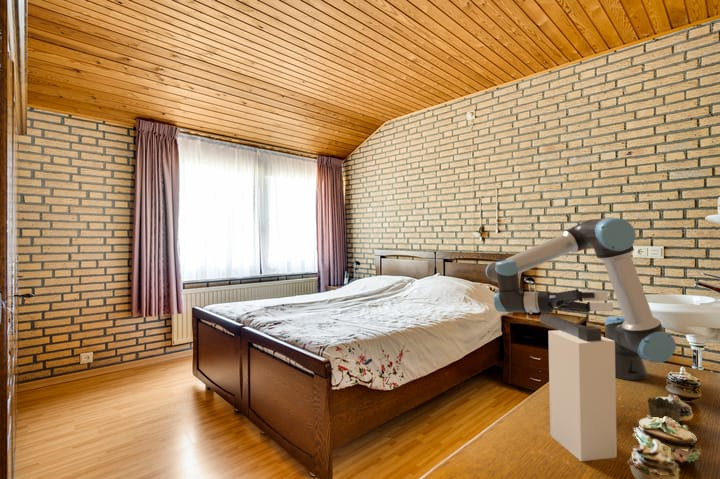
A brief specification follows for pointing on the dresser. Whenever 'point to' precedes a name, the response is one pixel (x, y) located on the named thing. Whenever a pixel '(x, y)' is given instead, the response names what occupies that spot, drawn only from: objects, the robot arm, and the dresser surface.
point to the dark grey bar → (572, 328)
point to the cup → (664, 408)
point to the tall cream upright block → (583, 395)
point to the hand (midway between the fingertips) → (610, 301)
